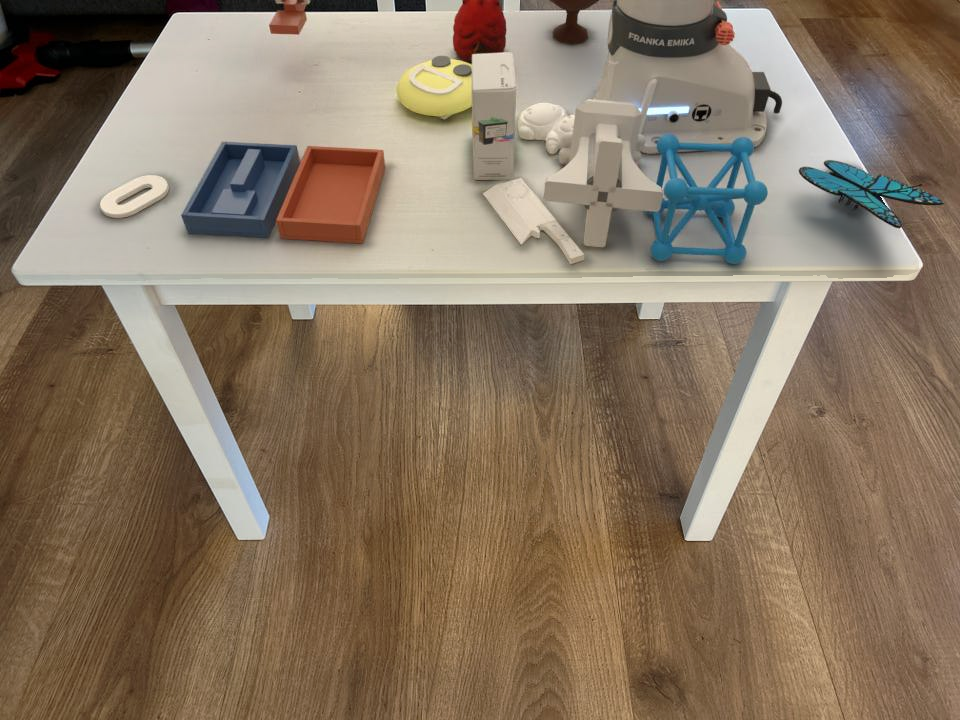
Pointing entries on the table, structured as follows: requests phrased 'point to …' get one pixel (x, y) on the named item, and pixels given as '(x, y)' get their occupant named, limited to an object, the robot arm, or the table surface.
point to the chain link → (134, 206)
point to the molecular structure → (705, 198)
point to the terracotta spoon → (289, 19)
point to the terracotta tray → (332, 195)
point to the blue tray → (268, 189)
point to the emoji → (437, 87)
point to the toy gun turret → (603, 164)
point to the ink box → (493, 115)
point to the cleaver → (529, 216)
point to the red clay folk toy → (479, 29)
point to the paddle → (242, 187)
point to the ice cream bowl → (572, 21)
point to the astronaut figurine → (545, 124)
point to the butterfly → (866, 189)
